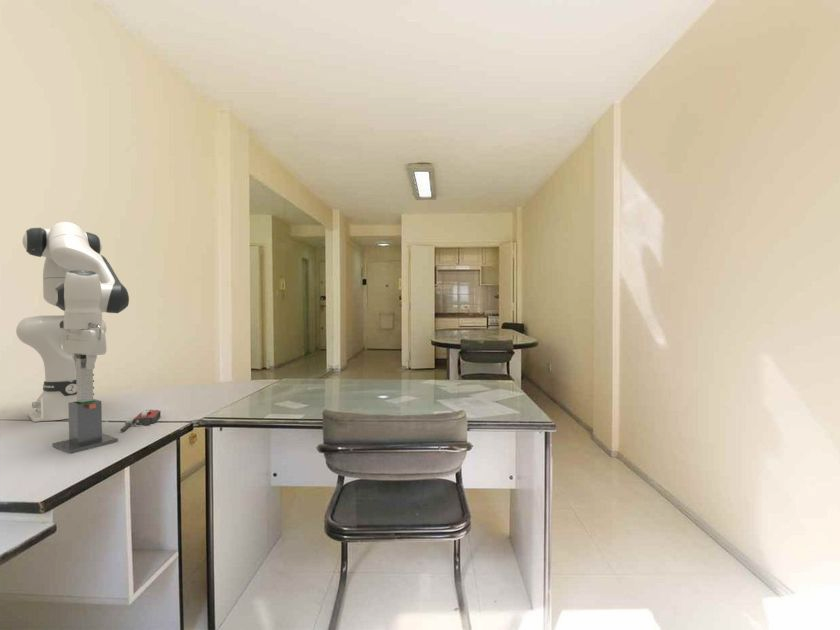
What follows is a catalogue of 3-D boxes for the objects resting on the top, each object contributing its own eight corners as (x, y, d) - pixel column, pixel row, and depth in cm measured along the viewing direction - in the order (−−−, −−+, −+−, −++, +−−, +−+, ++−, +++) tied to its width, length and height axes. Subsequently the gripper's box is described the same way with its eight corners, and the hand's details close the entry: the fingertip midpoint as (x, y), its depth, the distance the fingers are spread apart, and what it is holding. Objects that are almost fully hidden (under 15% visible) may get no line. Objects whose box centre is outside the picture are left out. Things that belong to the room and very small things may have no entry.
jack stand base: (52, 446, 120) (51, 403, 120) (99, 435, 130) (99, 395, 130) (69, 453, 114) (69, 408, 114) (118, 441, 125) (117, 400, 124)
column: (76, 420, 122) (75, 355, 121) (90, 417, 125) (89, 353, 124) (81, 421, 120) (80, 355, 120) (95, 419, 123) (94, 354, 123)
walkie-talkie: (135, 419, 151) (117, 434, 133) (135, 407, 151) (117, 421, 133) (162, 416, 155) (148, 431, 136) (162, 405, 154) (148, 418, 136)
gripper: (112, 323, 119) (113, 369, 120) (81, 322, 129) (82, 364, 130) (87, 324, 114) (87, 372, 114) (56, 323, 124) (57, 367, 124)
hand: (84, 368), depth 122 cm, fingers open, 6 cm apart
